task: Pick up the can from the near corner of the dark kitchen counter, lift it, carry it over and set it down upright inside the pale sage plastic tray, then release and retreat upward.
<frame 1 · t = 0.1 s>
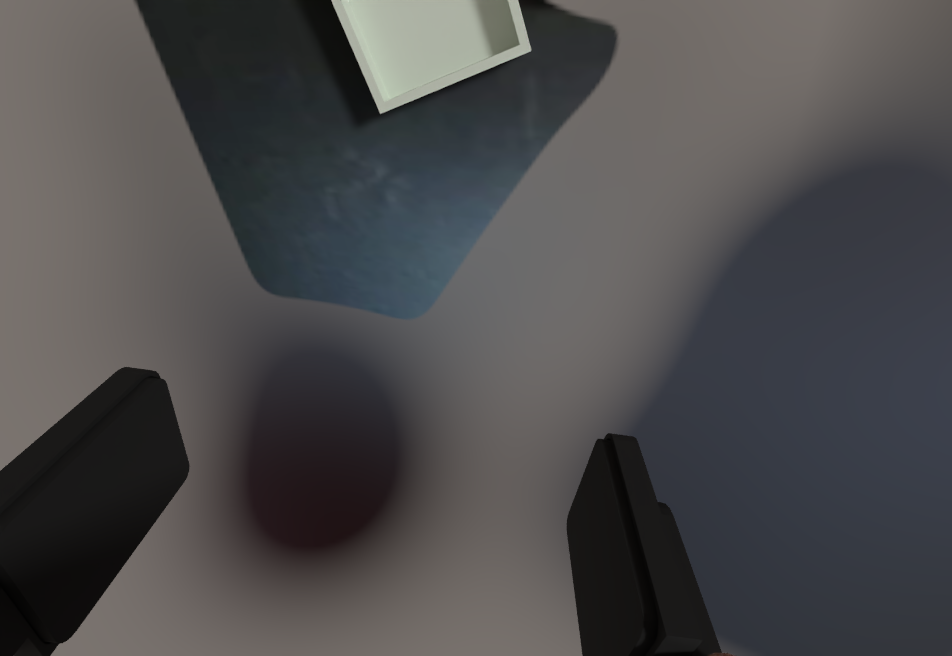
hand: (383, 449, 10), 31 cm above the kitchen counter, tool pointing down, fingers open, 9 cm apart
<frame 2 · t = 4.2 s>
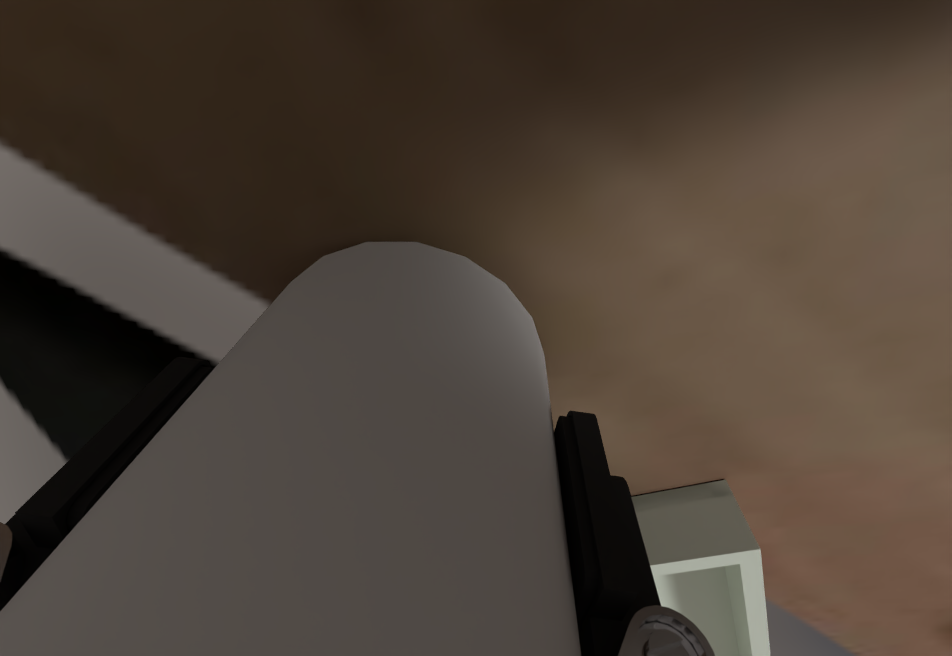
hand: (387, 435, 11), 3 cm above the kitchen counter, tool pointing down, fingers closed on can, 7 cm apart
tray: (613, 632, 21), on the kitchen counter
can: (413, 347, 14), on the kitchen counter, touching gripper
when the fingers open (5 cm above the kitchen counter, at t = 10.6 s): can drops 1 cm, resting on tray.
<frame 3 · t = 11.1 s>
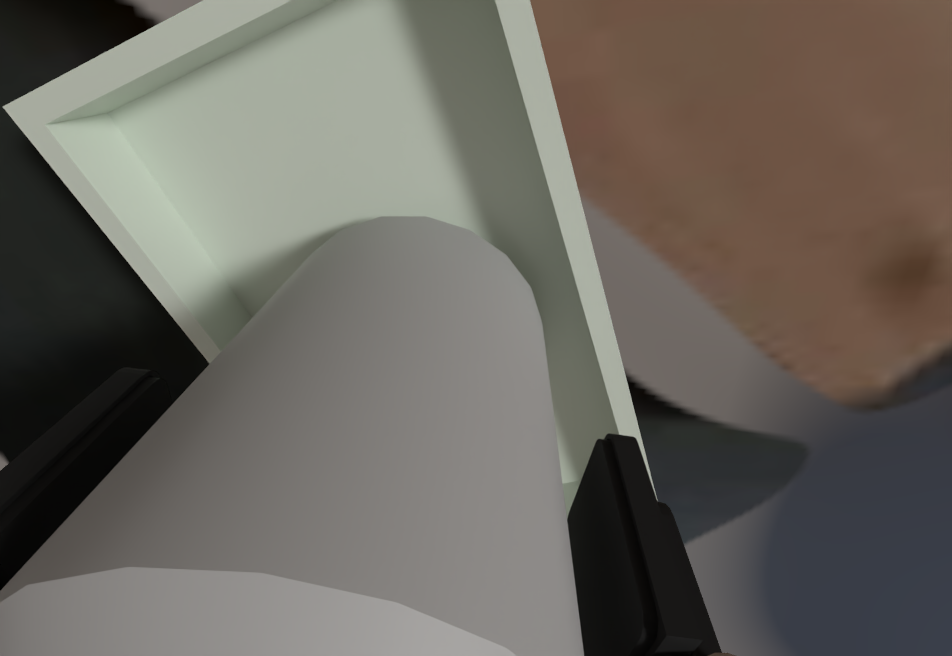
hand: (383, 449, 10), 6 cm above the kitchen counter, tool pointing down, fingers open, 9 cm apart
tray: (422, 317, 15), on the kitchen counter
can: (421, 319, 15), resting on tray
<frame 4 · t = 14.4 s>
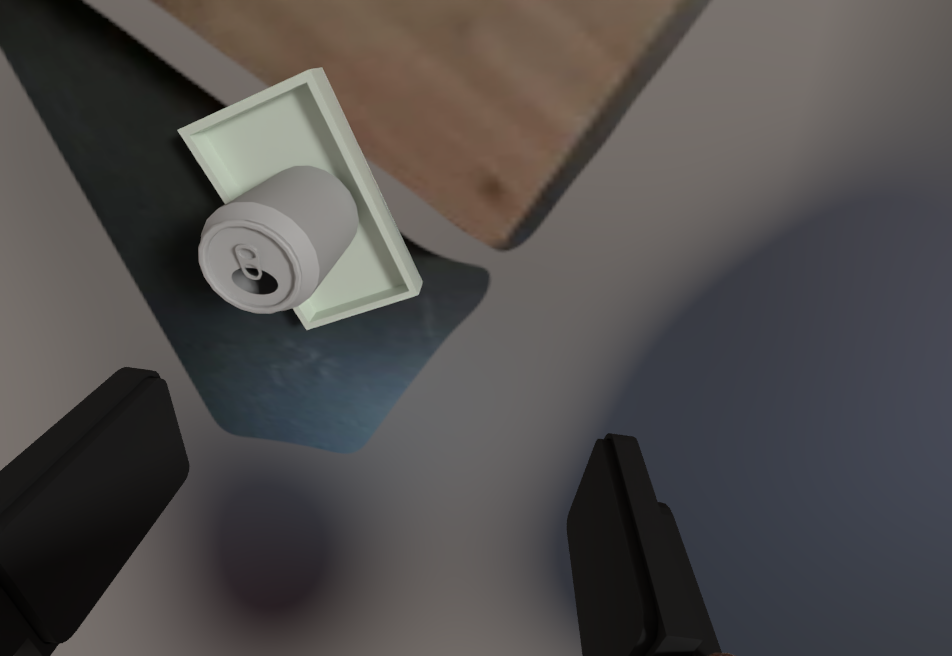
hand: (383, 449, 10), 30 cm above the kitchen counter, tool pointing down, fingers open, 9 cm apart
tray: (318, 209, 39), on the kitchen counter
can: (317, 208, 38), resting on tray
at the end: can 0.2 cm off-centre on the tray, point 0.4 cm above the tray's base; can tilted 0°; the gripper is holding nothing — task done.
